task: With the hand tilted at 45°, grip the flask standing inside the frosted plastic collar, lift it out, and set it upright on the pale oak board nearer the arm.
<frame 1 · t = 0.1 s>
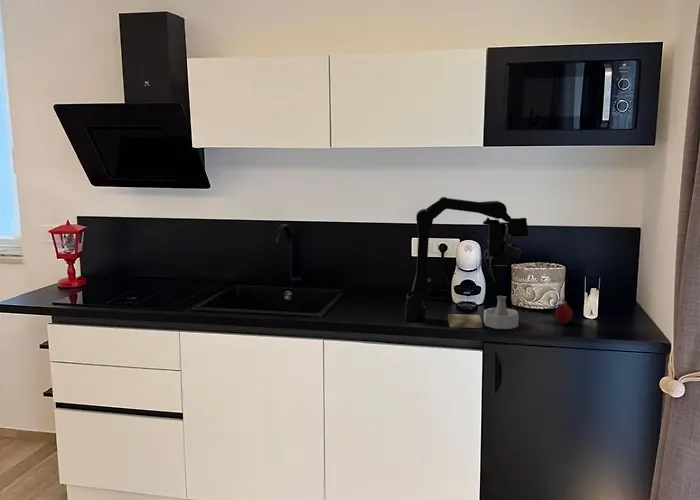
hand: (495, 281, 225), 15 cm above the worktop, tool pointing down, fingers open, 9 cm apart
flask: (500, 325, 223), on the worktop
onion: (563, 324, 224), on the worktop
collar: (500, 324, 223), on the worktop
oak board: (464, 323, 224), on the worktop
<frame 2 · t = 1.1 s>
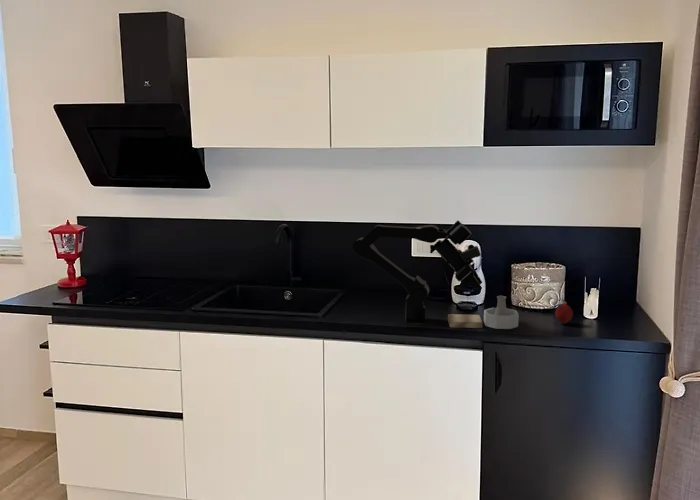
hand: (481, 286, 223), 13 cm above the worktop, tool tilted 45°, fingers open, 9 cm apart
nothing on the worktop moved.
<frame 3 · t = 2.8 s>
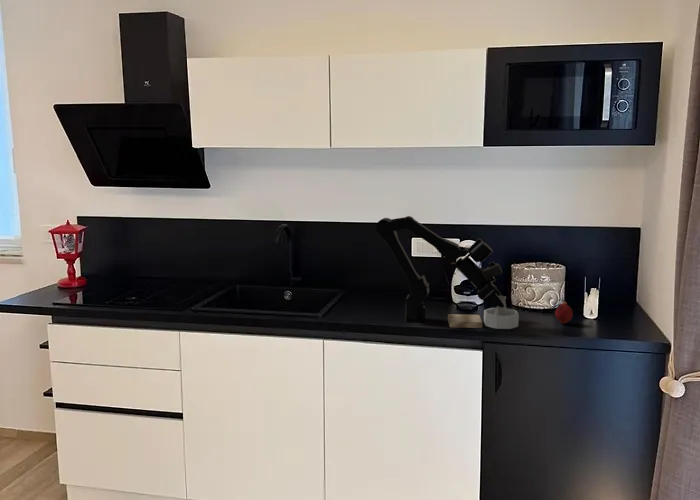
hand: (503, 303, 222), 7 cm above the worktop, tool tilted 45°, fingers open, 9 cm apart
nothing on the worktop moved.
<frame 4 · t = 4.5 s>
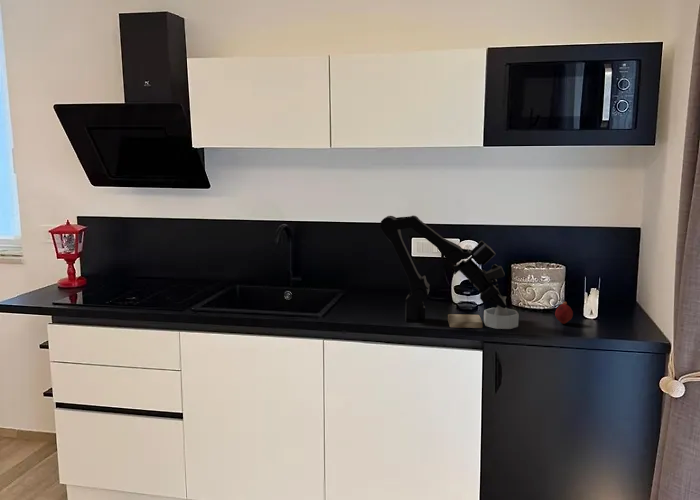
hand: (505, 306, 222), 7 cm above the worktop, tool tilted 45°, fingers closed on flask, 3 cm apart
flask: (500, 324, 223), on the worktop, touching gripper
everything else where it was.
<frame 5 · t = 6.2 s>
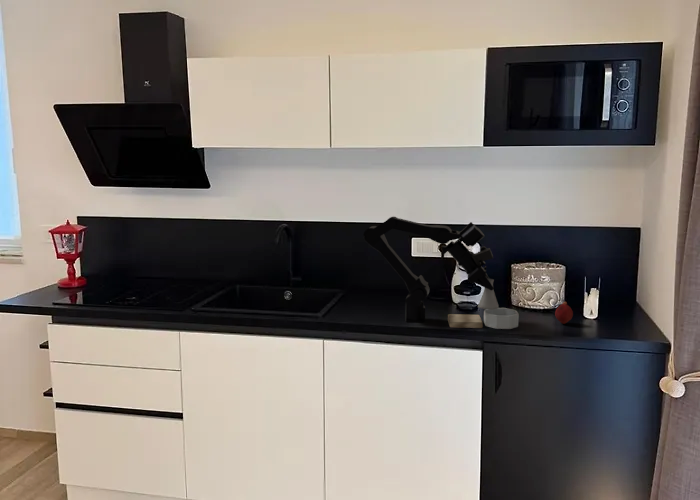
hand: (492, 288, 221), 13 cm above the worktop, tool tilted 45°, fingers closed on flask, 3 cm apart
flask: (488, 308, 223), point 6 cm above the worktop, touching gripper
everything else where it was.
when the fingers open (10 cm above the worktop, at t = 8.0 s): flask stays where it is, resting on oak board.
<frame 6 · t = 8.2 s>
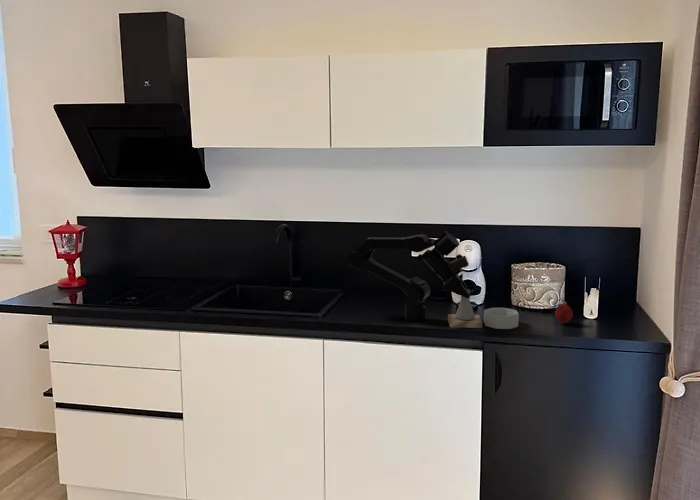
hand: (469, 296, 222), 10 cm above the worktop, tool tilted 45°, fingers open, 4 cm apart
flask: (464, 318, 224), point 2 cm above the worktop, touching oak board
everything else where it was.
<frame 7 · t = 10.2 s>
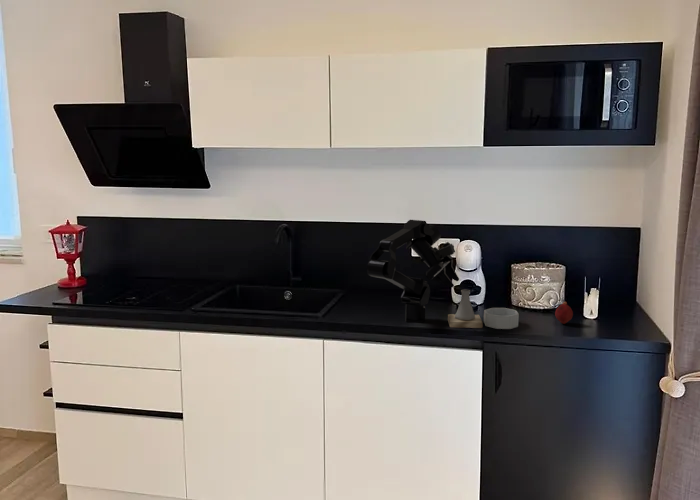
hand: (455, 283, 226), 14 cm above the worktop, tool tilted 45°, fingers open, 9 cm apart
nothing on the worktop moved.
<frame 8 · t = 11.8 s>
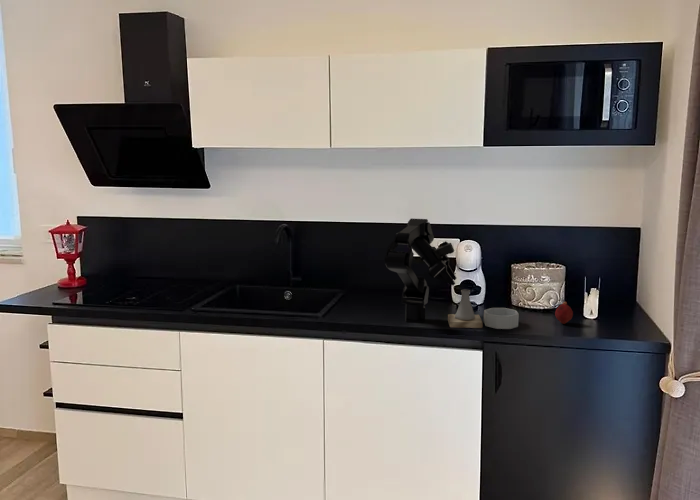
hand: (455, 281, 229), 14 cm above the worktop, tool tilted 45°, fingers open, 9 cm apart
nothing on the worktop moved.
at the end: flask inside the target area on the oak board (0.1 cm from its centre), point 1.8 cm above the oak board's base; flask tilted 0°; the gripper is holding nothing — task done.
